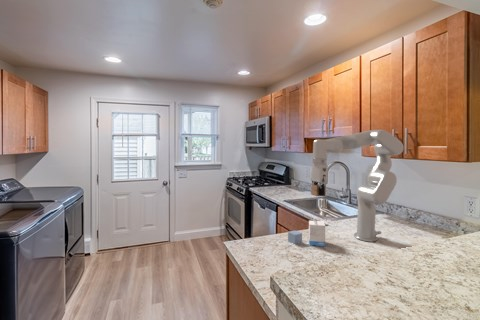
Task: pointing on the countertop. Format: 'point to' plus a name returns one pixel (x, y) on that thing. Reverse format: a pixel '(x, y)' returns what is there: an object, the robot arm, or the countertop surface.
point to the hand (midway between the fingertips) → (318, 193)
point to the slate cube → (294, 237)
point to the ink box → (317, 233)
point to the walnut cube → (316, 190)
